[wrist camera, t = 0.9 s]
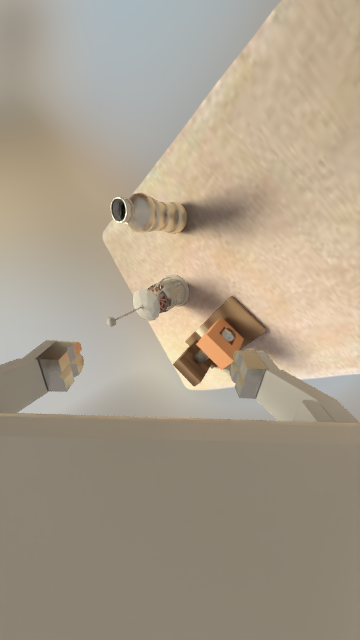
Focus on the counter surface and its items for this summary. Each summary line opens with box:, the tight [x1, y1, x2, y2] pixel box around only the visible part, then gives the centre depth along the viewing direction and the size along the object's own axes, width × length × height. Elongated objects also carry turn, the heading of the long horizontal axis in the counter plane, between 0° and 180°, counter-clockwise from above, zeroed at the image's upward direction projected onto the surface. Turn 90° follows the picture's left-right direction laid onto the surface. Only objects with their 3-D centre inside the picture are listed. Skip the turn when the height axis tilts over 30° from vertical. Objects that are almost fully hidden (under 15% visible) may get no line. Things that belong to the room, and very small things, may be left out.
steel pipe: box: [193, 328, 236, 365], centre depth 46 cm, size 15×3×3 cm, turn 143°
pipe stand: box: [173, 296, 266, 386], centre depth 46 cm, size 21×12×12 cm, turn 143°
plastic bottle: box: [110, 193, 187, 234], centre depth 36 cm, size 6×7×20 cm
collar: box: [196, 317, 244, 370], centre depth 43 cm, size 4×8×10 cm, turn 53°
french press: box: [107, 275, 189, 327], centre depth 43 cm, size 10×12×25 cm
